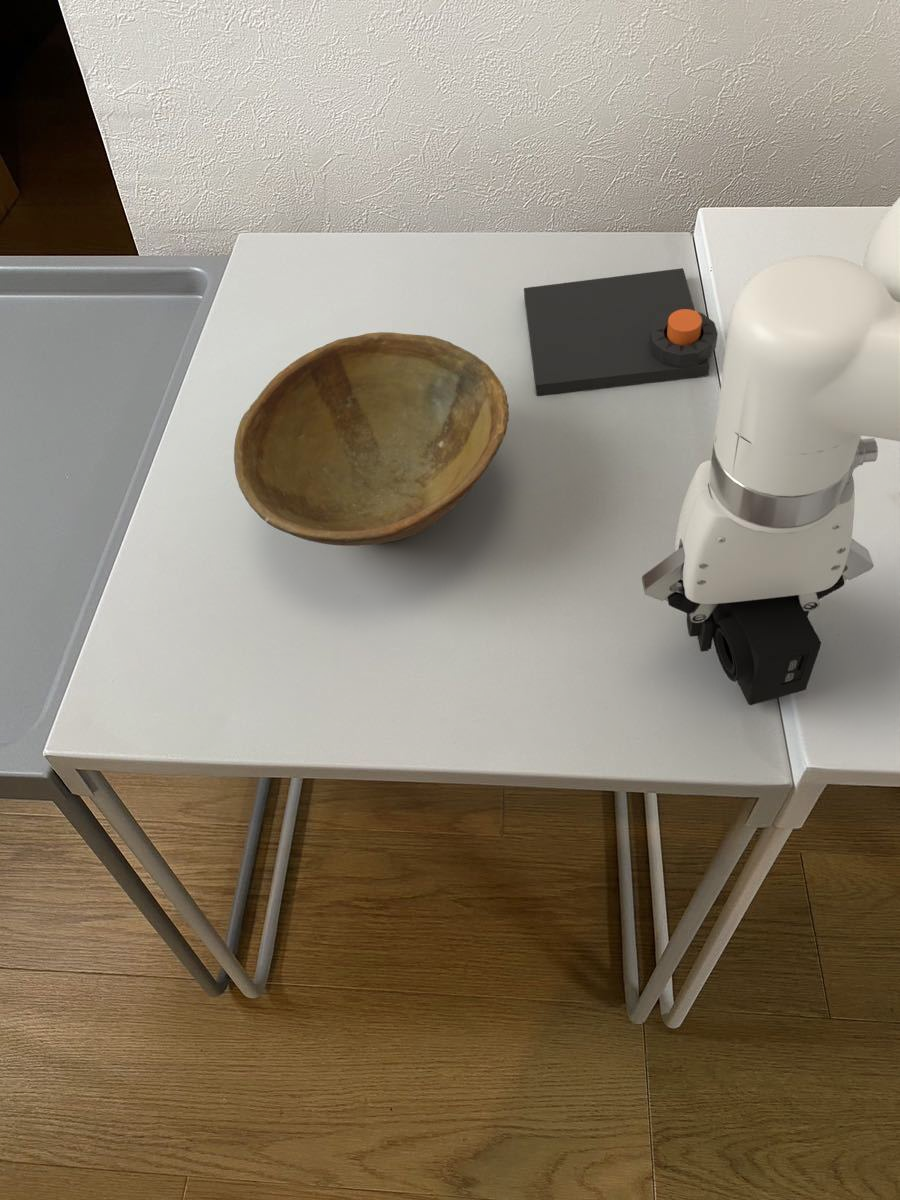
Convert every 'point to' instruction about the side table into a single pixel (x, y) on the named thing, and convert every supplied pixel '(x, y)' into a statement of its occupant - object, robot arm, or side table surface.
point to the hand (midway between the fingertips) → (743, 628)
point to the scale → (612, 332)
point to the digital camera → (765, 646)
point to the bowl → (369, 438)
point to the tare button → (684, 327)
